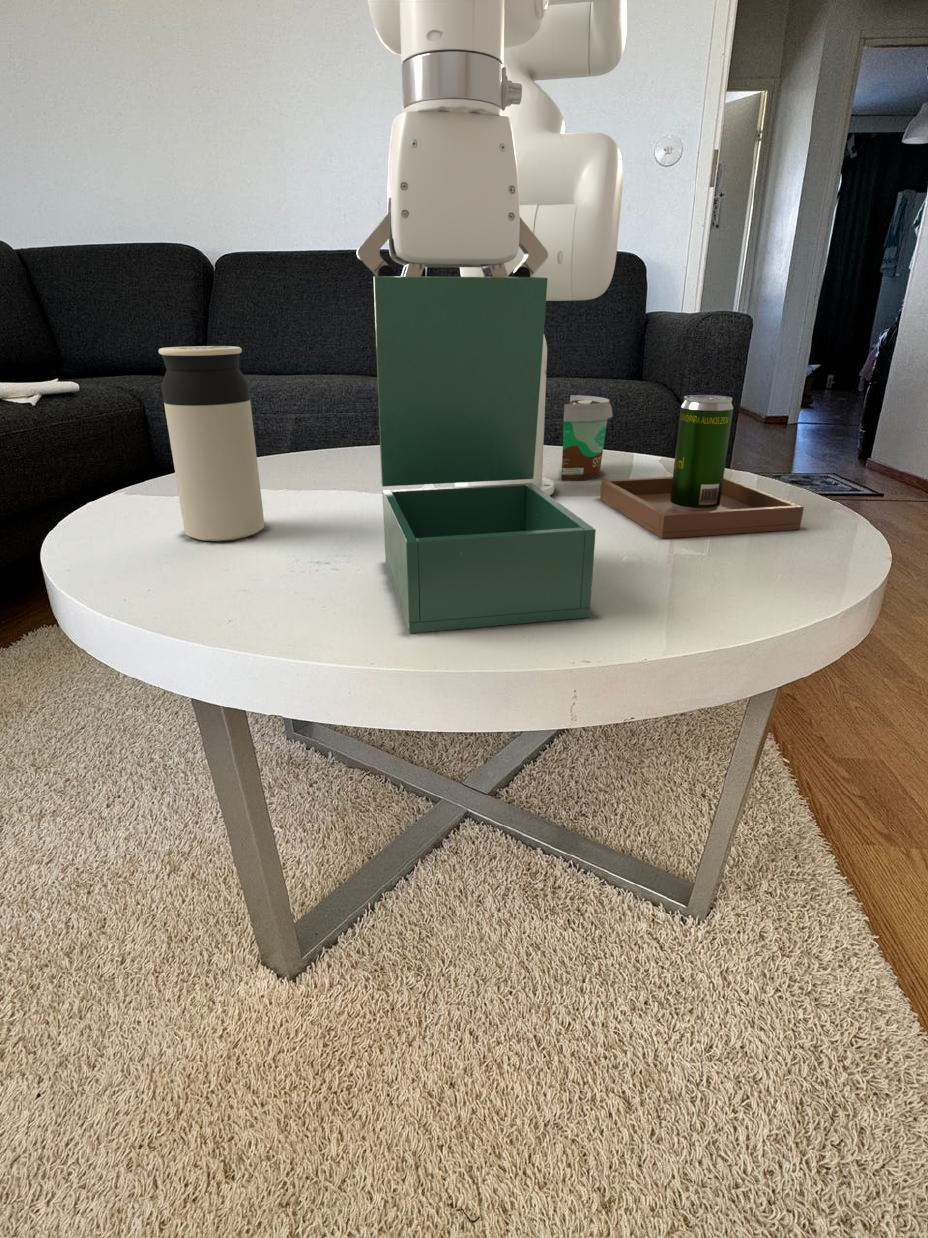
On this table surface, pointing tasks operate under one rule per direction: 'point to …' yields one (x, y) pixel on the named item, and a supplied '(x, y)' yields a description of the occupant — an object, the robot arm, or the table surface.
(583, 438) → the food container
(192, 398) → the travel mug
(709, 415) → the beer can
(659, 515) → the tray
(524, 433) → the lid
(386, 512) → the green box
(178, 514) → the table surface
